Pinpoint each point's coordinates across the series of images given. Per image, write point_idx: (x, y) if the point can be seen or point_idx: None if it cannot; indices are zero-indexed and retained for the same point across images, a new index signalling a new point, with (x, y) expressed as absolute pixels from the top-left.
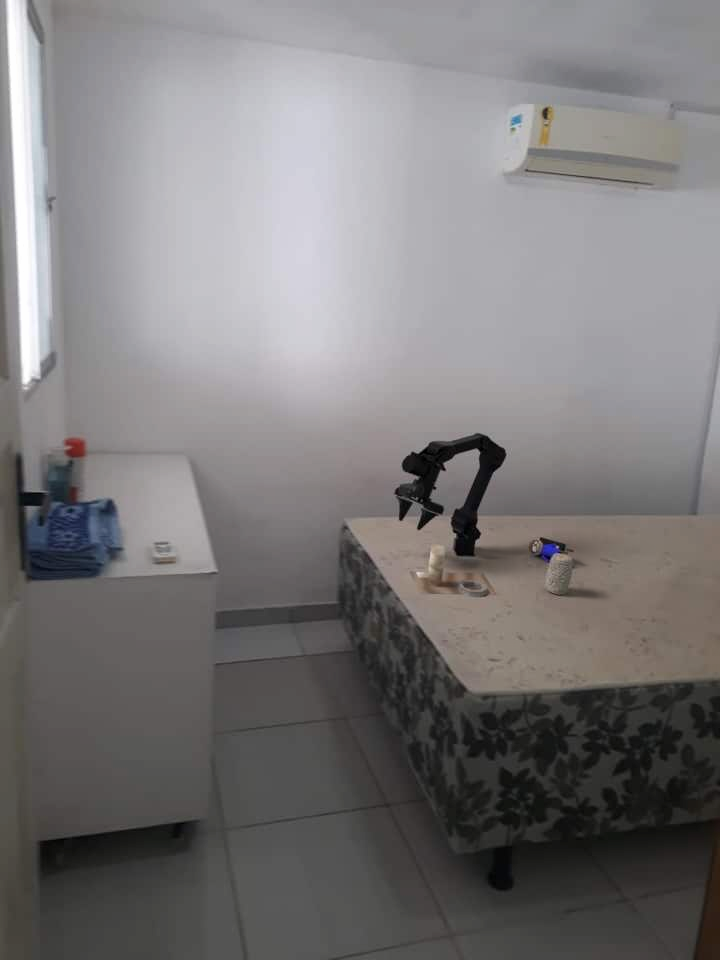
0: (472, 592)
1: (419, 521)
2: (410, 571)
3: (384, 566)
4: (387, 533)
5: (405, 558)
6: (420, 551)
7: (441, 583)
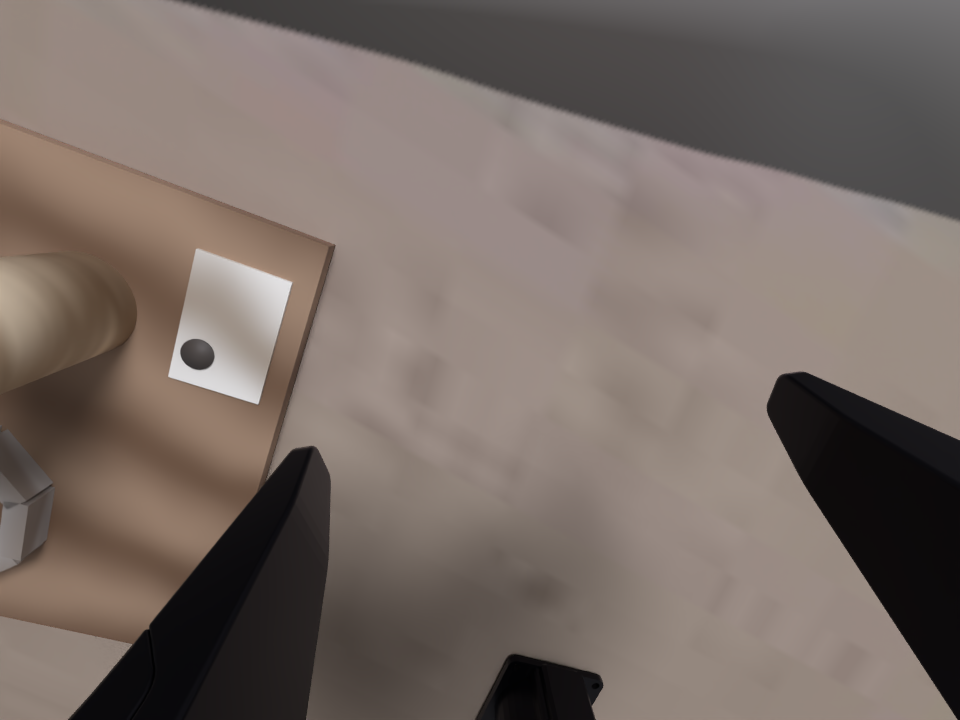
0: None
1: (242, 572)
2: (324, 251)
3: (518, 143)
4: None
5: (586, 364)
6: (642, 504)
7: None
